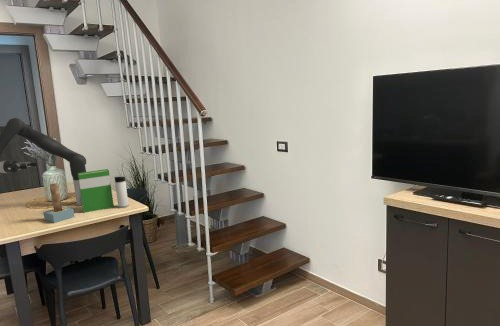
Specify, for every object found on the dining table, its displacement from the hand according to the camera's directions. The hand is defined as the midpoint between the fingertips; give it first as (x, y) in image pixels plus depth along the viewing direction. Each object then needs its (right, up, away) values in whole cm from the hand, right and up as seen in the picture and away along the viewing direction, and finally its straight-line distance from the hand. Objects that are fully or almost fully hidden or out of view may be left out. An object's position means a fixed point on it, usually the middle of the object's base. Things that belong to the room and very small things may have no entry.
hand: (31, 165), depth 222 cm
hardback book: (+34, -28, +15) cm, 46 cm away
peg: (+17, -31, -1) cm, 35 cm away
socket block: (+17, -31, 0) cm, 36 cm away
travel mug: (+49, -27, +16) cm, 58 cm away
